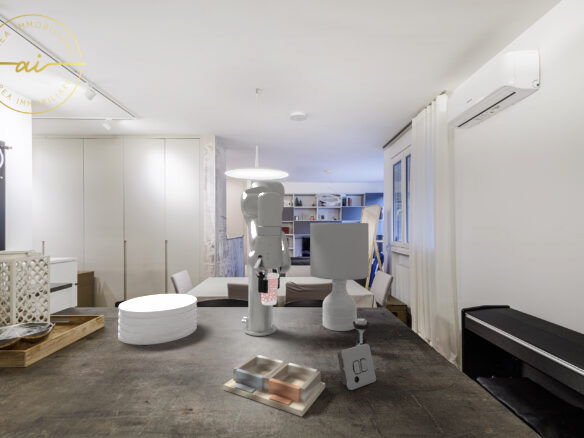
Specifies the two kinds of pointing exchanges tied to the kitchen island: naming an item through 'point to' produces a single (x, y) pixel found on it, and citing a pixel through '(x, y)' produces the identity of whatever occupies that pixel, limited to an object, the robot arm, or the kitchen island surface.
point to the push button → (361, 329)
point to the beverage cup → (271, 289)
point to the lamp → (339, 267)
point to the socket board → (276, 383)
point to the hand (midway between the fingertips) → (269, 289)
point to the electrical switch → (356, 366)
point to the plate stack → (157, 318)
